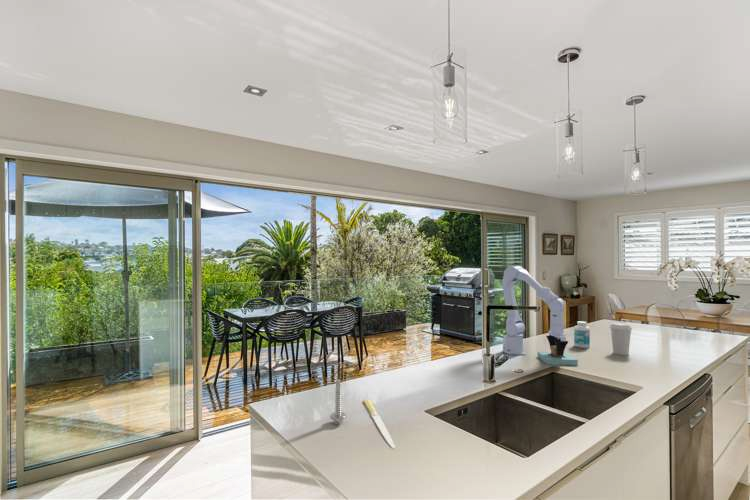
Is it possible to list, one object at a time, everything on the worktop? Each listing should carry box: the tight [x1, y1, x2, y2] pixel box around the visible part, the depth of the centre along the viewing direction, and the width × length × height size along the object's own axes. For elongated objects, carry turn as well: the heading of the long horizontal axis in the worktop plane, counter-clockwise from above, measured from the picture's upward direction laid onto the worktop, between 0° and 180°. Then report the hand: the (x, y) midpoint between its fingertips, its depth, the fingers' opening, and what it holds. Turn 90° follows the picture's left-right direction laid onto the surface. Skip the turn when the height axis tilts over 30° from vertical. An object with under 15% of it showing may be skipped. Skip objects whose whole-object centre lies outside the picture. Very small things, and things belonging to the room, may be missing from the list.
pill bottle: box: [573, 320, 591, 349], centre depth 206 cm, size 8×7×14 cm
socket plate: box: [537, 351, 579, 366], centre depth 178 cm, size 13×13×2 cm
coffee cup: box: [609, 322, 633, 356], centre depth 192 cm, size 10×10×15 cm
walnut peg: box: [550, 345, 563, 357], centre depth 178 cm, size 4×4×7 cm
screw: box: [329, 379, 347, 426], centre depth 113 cm, size 13×5×5 cm
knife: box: [363, 398, 396, 450], centre depth 115 cm, size 1×33×5 cm
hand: (556, 353), depth 178 cm, fingers open, 7 cm apart
